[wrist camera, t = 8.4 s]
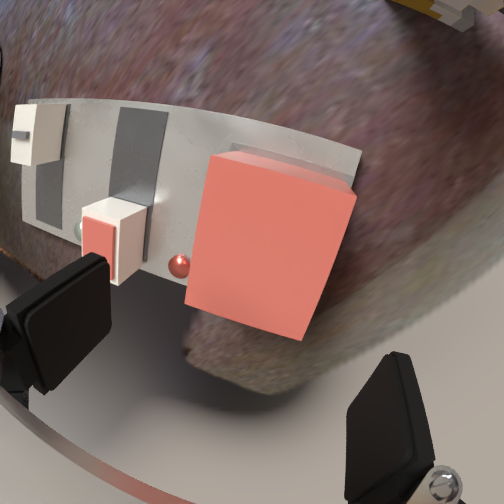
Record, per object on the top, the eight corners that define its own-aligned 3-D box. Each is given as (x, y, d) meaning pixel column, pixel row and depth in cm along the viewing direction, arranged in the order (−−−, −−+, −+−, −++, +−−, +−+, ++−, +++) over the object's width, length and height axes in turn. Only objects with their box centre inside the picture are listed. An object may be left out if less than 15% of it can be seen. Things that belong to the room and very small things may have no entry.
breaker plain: (38, 155, 21) (7, 162, 18) (43, 103, 19) (12, 105, 15) (59, 159, 21) (27, 167, 17) (66, 103, 19) (33, 104, 15)
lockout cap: (211, 268, 22) (184, 303, 17) (236, 150, 18) (210, 155, 13) (305, 298, 21) (301, 341, 16) (345, 181, 17) (357, 196, 13)
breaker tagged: (108, 253, 23) (80, 271, 20) (110, 196, 21) (79, 208, 17) (141, 266, 23) (115, 287, 19) (147, 207, 21) (117, 221, 17)
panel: (30, 217, 26) (20, 221, 24) (37, 99, 20) (26, 99, 19) (302, 313, 23) (301, 324, 22) (359, 150, 18) (362, 151, 16)
